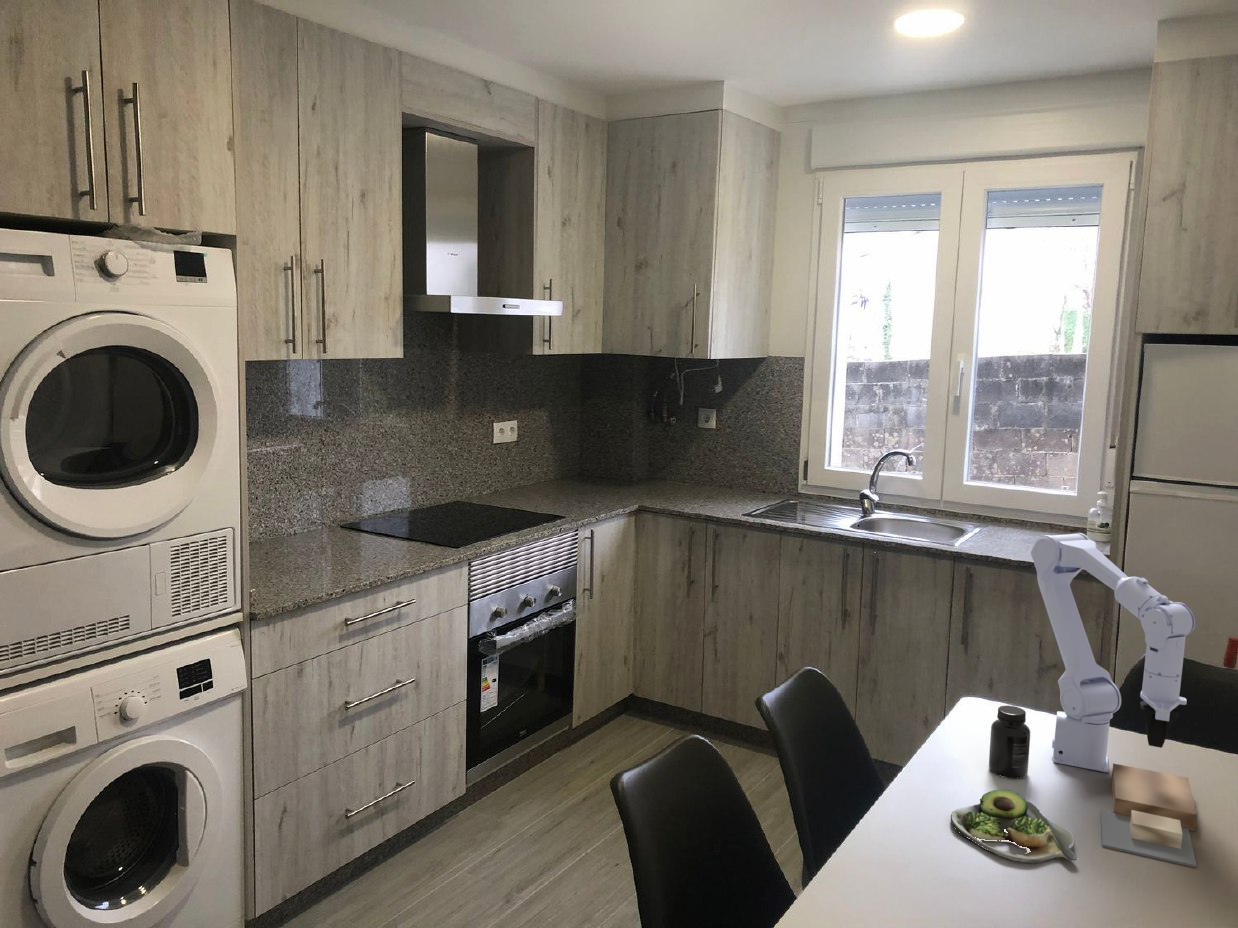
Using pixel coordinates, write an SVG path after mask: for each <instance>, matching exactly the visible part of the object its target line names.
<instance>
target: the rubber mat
mask: <svg viewBox="0 0 1238 928" xmlns="http://www.w3.org/2000/svg"><path fill="white" fill-rule="evenodd" d="M1130 821H1131V817H1130V816H1125V815H1121V814H1116V813H1114V812H1111V811H1105V810H1100V825H1101V829H1100V830H1101V847H1102V846H1103V848H1107V849H1111V850H1116V851H1121V852H1124V853H1129V854H1132V855H1133V854H1134V855H1137V856H1140V857H1141V856H1142V857H1147V858H1151V859H1154V860H1155V859H1156V860H1159V861H1165V862H1168V863H1173V864H1179V865H1182V866H1187V867H1192V868H1197V861H1196V856H1195V853H1194V847H1193V842H1192V839H1191V834H1190V831H1189V829H1187V828H1182V827H1181V829H1182V843H1181V849H1179V848H1174V847H1170V846H1165V845H1161V844H1156V843H1152V842H1147V841H1143V840H1139V839H1134V838H1131V829H1130Z"/></svg>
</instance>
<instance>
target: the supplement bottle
mask: <svg viewBox="0 0 1238 928" xmlns="http://www.w3.org/2000/svg"><path fill="white" fill-rule="evenodd" d="M1026 713H1027V712H1026V710H1024V709H1023V708H1021V707H1019V706H1014V705H1013V706H1012V705H1001V706H999V707H998V708H997V713H996V714H997V715H996V716H997V717H996V720H994V721H993V722H992V723H991V727H990V737H989V738H990V739H989V757H988V768H989V770H990V771H991V772H992V771H993V772H994V774H995V773H996V774H995V775H997V776H999V775H1001V776H1000V777H1002V776H1003V777H1002V778H1006V777H1007V779H1014V780H1015V779H1022V778H1024V777H1026V776H1027V774H1028V771H1029V759H1030V746H1031V745H1030V744H1031V729H1030V728H1029V726H1028V725H1027V724H1026V722H1027V717H1026V715H1027V714H1026ZM993 772H992V773H993Z"/></svg>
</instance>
